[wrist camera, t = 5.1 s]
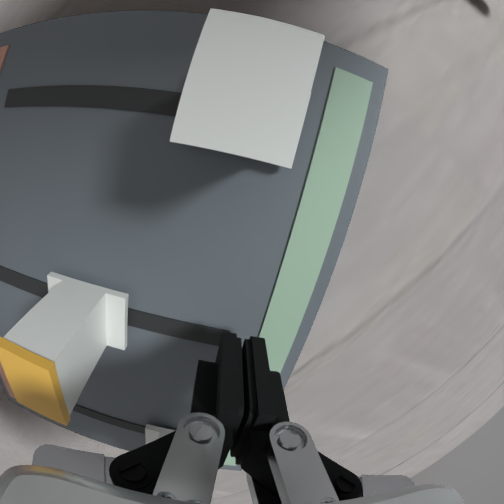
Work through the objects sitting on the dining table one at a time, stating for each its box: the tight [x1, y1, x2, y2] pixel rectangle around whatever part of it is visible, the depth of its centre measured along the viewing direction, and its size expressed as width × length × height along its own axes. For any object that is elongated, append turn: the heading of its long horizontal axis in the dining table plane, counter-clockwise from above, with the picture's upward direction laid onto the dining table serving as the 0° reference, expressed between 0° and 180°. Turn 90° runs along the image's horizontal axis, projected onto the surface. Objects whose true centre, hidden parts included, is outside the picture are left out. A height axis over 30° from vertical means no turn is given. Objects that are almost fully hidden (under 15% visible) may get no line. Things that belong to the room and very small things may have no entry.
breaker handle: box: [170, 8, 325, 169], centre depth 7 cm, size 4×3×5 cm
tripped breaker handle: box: [0, 272, 129, 426], centre depth 9 cm, size 4×3×5 cm
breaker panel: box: [0, 10, 388, 471], centre depth 13 cm, size 20×26×3 cm
